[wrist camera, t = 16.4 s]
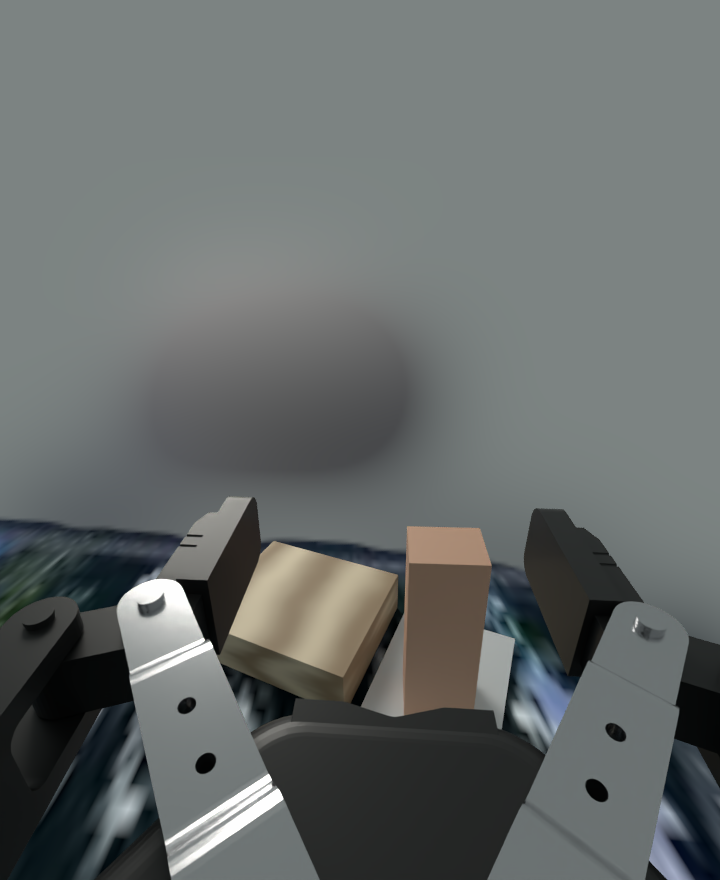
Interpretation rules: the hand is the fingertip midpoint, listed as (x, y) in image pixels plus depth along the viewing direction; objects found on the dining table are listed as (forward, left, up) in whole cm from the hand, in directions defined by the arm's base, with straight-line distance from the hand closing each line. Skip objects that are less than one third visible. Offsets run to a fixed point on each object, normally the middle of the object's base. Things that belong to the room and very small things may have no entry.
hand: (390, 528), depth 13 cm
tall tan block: (-1, +14, -24) cm, 28 cm away
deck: (-14, +16, -25) cm, 33 cm away
